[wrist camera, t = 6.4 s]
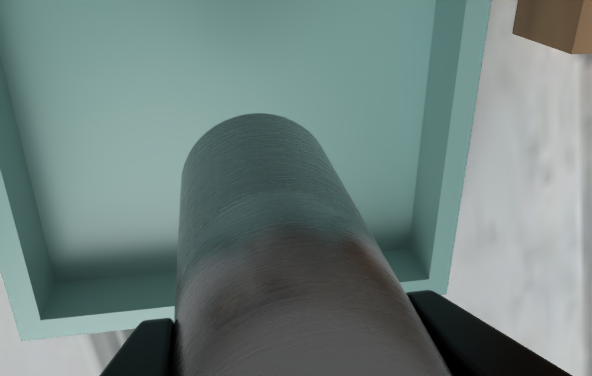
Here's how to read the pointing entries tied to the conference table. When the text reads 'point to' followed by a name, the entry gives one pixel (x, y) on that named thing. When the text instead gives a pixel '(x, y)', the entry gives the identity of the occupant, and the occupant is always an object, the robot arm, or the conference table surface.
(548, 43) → the pin block
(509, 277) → the conference table surface
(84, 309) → the tray
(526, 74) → the conference table surface
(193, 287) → the steel pin
